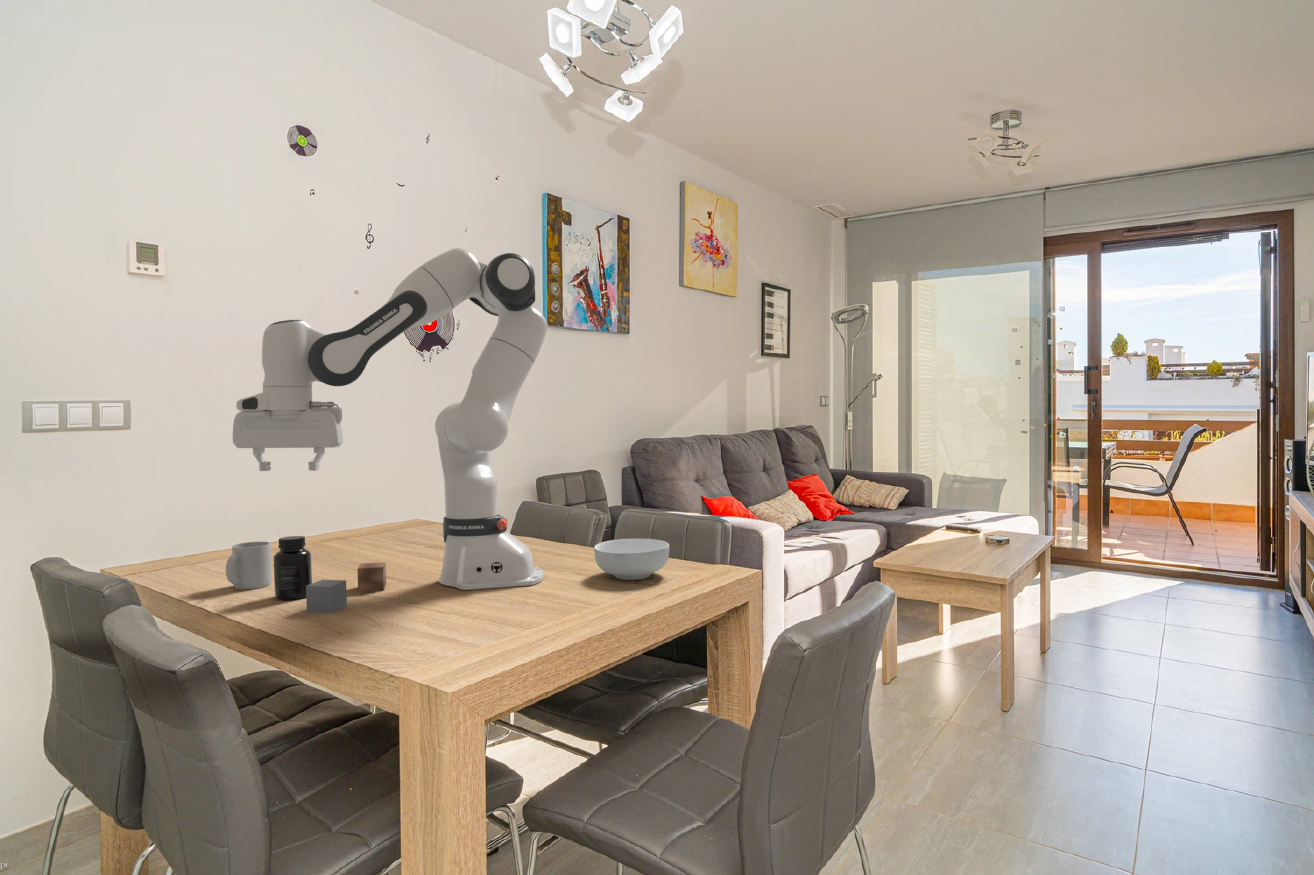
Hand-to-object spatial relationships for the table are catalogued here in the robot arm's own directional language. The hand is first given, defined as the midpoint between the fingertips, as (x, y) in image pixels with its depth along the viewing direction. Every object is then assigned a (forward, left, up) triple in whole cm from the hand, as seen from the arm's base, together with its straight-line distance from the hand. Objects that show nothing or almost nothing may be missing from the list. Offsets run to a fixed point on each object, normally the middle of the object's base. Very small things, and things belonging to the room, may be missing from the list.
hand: (289, 470), depth 148 cm
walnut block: (-14, -5, -26) cm, 30 cm away
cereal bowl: (-69, -10, -26) cm, 74 cm away
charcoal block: (-10, +10, -26) cm, 29 cm away
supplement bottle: (0, 0, -26) cm, 26 cm away
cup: (+13, -9, -26) cm, 30 cm away
